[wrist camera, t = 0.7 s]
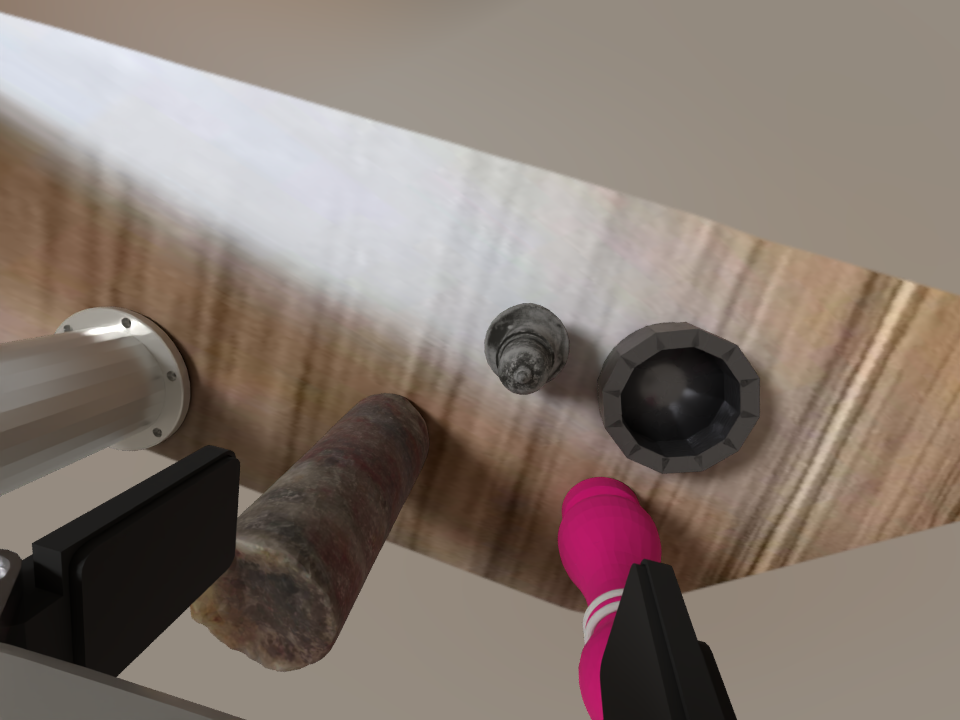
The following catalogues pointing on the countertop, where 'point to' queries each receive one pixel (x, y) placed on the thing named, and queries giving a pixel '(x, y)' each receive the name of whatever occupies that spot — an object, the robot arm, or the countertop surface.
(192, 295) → the countertop surface
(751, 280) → the countertop surface
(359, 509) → the candle
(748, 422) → the dark gray faceted bowl
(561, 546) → the pepper mill
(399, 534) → the countertop surface
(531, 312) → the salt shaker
